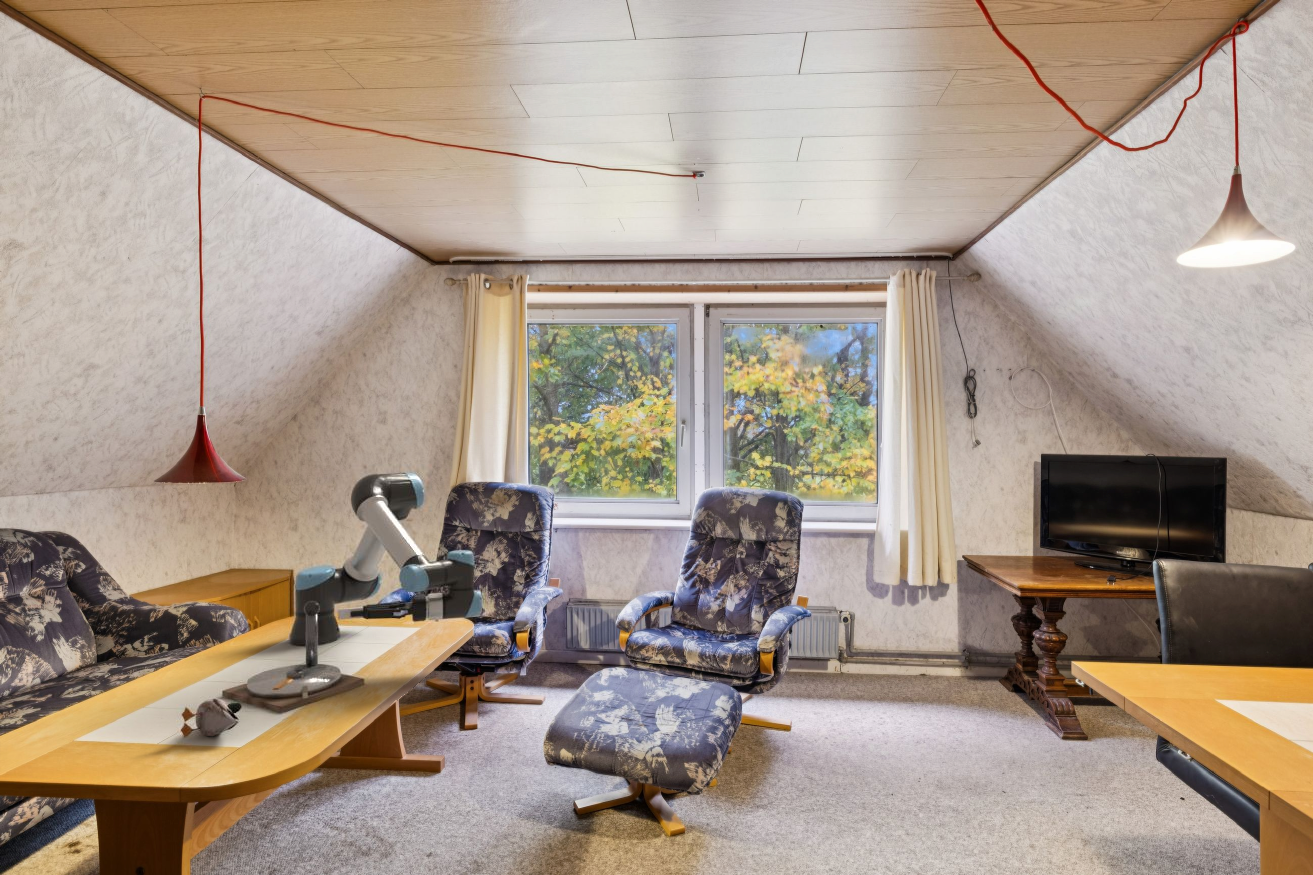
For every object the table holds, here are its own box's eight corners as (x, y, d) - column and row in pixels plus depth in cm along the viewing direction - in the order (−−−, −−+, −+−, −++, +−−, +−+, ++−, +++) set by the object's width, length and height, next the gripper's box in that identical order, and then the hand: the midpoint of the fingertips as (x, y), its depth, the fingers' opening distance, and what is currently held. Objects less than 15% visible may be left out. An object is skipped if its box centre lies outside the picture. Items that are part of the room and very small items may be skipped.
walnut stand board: (222, 696, 190) (222, 678, 190) (306, 670, 211) (306, 654, 211) (281, 712, 178) (281, 694, 178) (364, 684, 199) (364, 667, 199)
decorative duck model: (229, 688, 177) (278, 692, 172) (227, 720, 176) (277, 726, 172) (170, 703, 163) (222, 708, 158) (168, 738, 162) (220, 744, 157)
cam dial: (319, 697, 184) (319, 619, 184) (229, 698, 183) (229, 619, 183) (354, 668, 207) (354, 599, 207) (274, 669, 206) (275, 599, 206)
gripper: (427, 625, 208) (335, 633, 200) (426, 615, 220) (339, 622, 212) (427, 598, 208) (335, 605, 200) (425, 590, 220) (339, 596, 212)
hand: (337, 614), depth 206 cm, fingers closed
